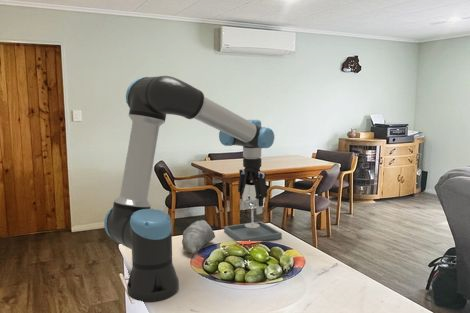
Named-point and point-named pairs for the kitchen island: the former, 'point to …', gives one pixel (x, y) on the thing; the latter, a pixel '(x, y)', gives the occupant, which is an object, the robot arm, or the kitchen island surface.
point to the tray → (252, 232)
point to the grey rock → (197, 236)
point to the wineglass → (250, 202)
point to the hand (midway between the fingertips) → (252, 211)
